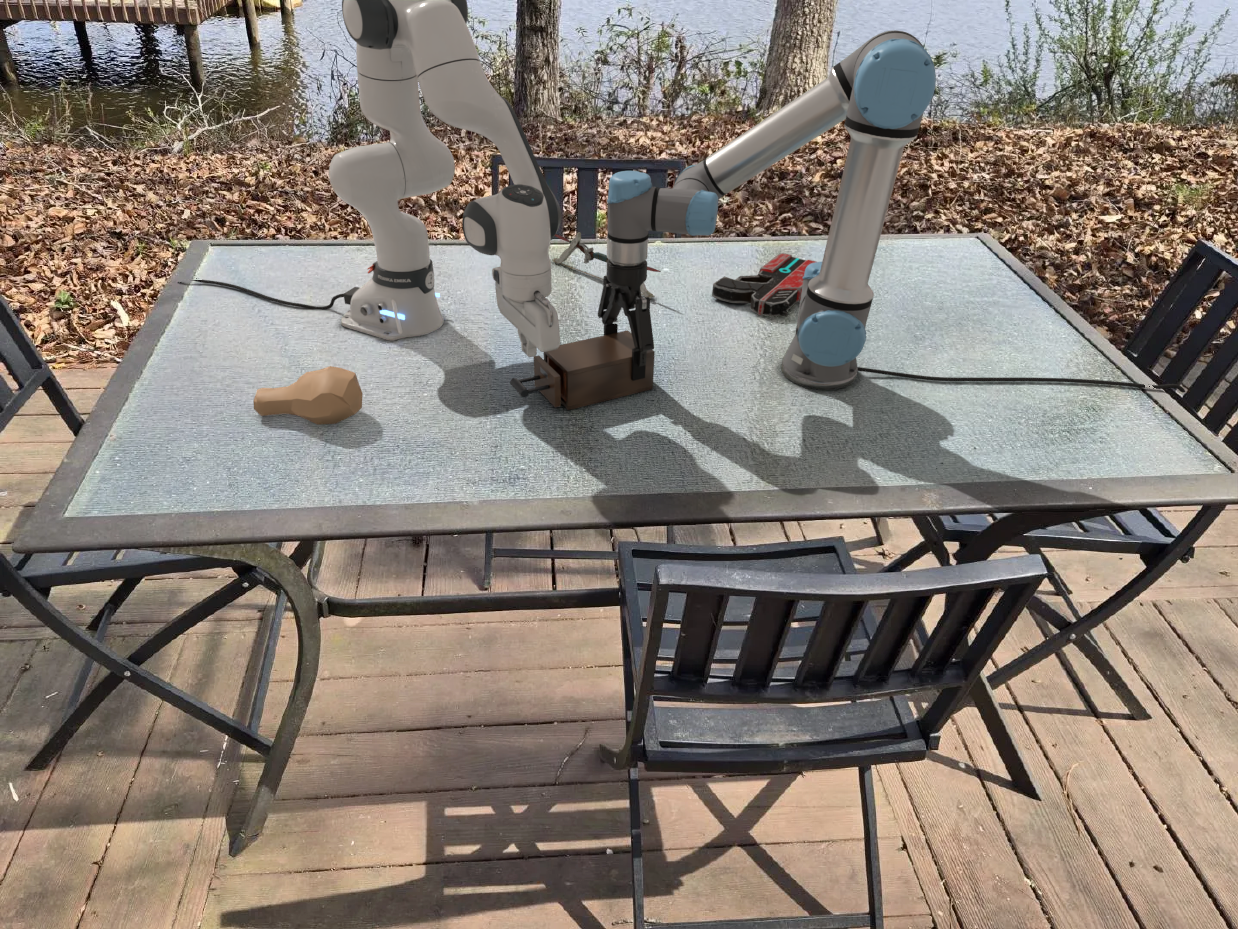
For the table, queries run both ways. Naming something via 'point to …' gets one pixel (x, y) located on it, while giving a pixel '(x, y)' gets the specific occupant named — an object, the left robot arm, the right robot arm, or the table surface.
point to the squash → (314, 397)
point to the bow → (591, 258)
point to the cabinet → (600, 369)
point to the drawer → (544, 381)
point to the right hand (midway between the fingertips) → (623, 366)
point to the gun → (766, 286)
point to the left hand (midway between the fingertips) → (529, 353)
